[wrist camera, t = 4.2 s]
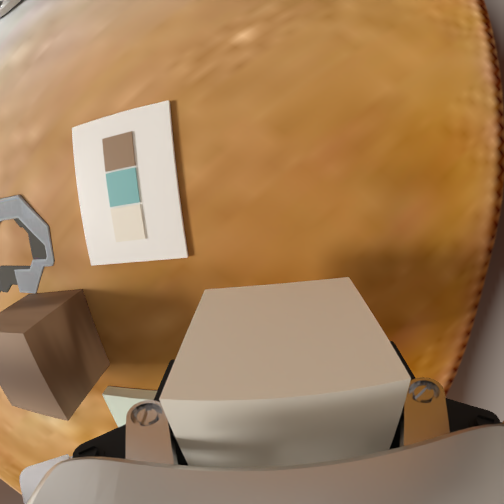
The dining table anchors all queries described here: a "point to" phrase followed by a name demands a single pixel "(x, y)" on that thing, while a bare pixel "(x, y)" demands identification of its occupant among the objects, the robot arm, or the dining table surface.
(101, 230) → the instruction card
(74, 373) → the walnut brick
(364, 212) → the dining table surface
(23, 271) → the gun
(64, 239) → the dining table surface
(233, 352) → the cream brick
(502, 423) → the robot arm
